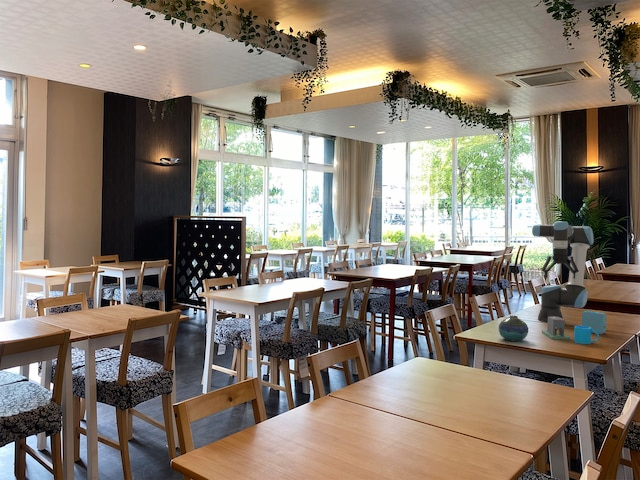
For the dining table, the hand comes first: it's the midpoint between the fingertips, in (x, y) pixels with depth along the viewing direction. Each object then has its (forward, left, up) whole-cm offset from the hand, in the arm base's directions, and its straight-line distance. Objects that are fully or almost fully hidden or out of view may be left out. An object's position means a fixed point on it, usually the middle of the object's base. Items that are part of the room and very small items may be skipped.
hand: (559, 284), depth 291 cm
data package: (-3, +21, -29) cm, 36 cm away
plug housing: (+10, -5, -27) cm, 29 cm away
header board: (+10, -5, -29) cm, 31 cm away
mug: (+24, +6, -29) cm, 38 cm away
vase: (+23, -32, -29) cm, 49 cm away
